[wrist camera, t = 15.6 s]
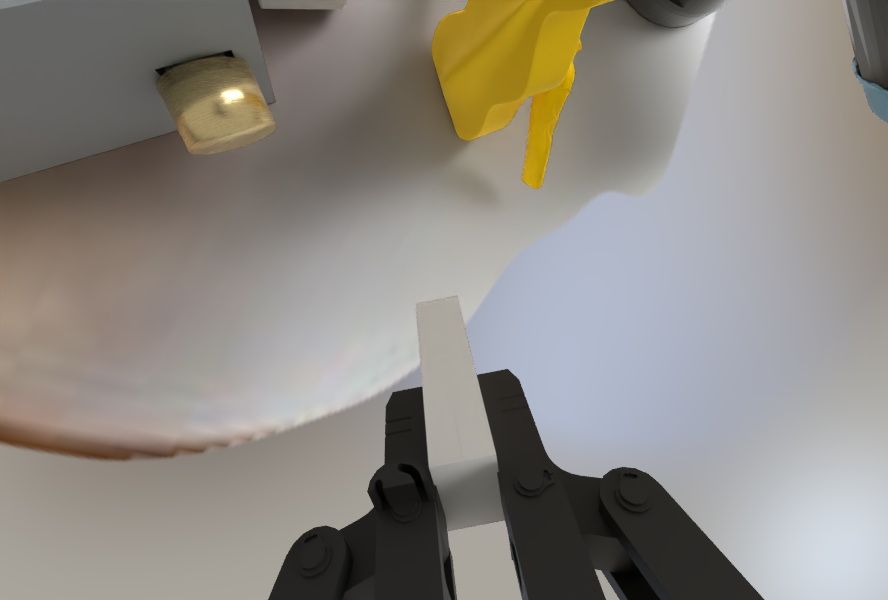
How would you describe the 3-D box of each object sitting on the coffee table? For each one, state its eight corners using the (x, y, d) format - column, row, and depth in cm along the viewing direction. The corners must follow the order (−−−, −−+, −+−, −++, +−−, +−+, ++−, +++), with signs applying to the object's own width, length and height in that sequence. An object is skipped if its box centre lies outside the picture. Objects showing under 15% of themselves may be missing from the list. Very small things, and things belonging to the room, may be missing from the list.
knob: (200, -43, 21) (174, -110, 17) (279, 135, 23) (272, 115, 19) (108, -24, 20) (55, -90, 16) (201, 159, 22) (176, 144, 18)
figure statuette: (537, 183, 35) (857, 125, 15) (459, 215, 34) (696, 199, 13) (474, -49, 30) (823, -624, 10) (377, -26, 28) (555, -671, 8)
